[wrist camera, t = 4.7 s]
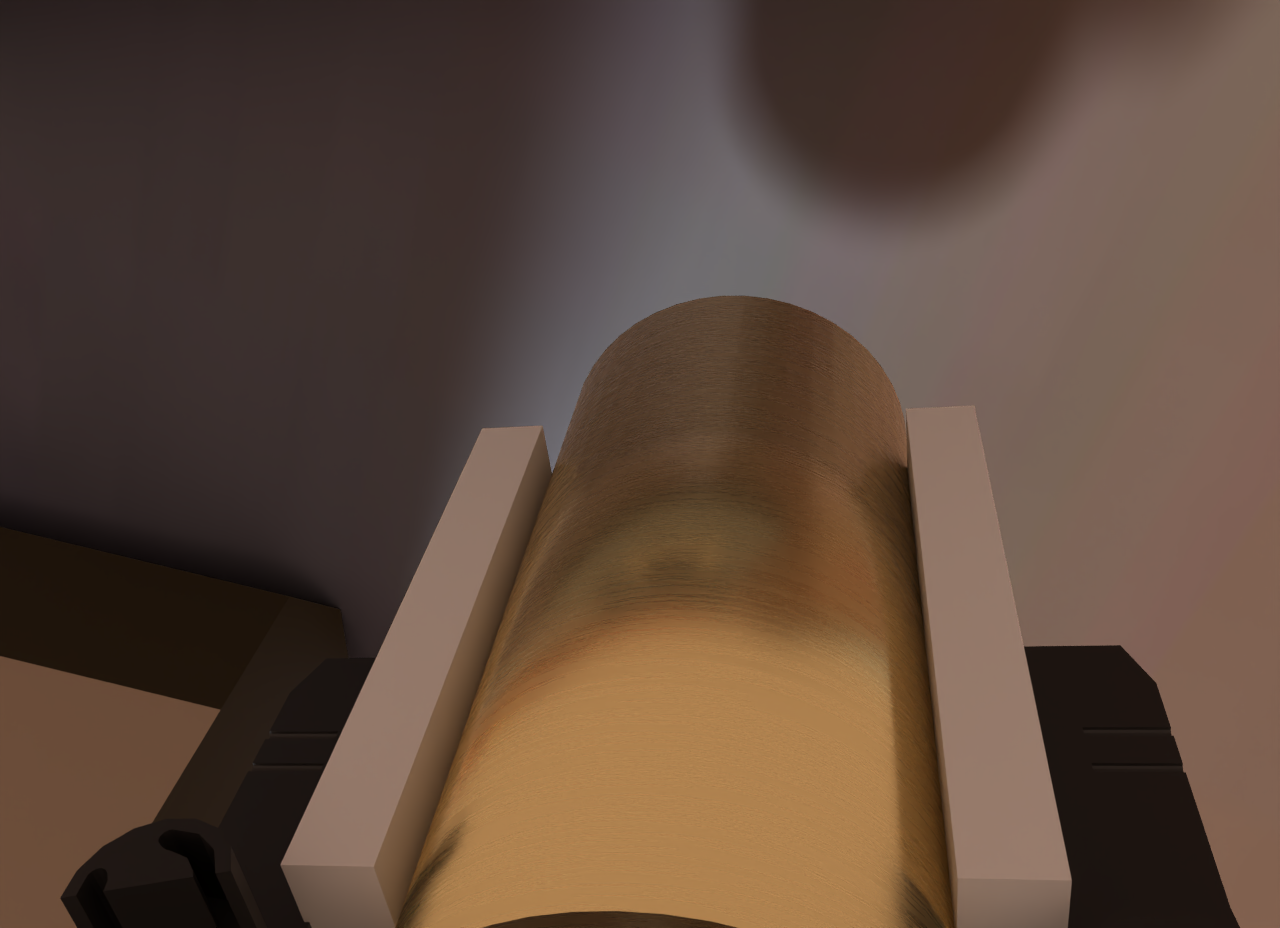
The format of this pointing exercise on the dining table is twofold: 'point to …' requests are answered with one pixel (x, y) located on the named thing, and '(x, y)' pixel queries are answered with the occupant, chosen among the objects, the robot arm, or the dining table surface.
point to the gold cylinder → (707, 655)
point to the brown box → (129, 703)
